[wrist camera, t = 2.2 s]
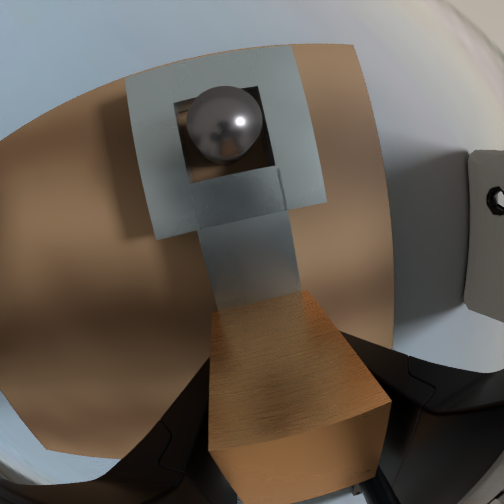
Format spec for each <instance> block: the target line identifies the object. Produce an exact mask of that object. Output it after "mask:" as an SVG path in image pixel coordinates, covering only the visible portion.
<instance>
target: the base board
mask: <svg viewBox="0 0 504 504" xmlns="http://www.w3.org/2000/svg"><path fill="white" fill-rule="evenodd" d="M289 45H291V47H292V50H293V54H294V57H295V60H296V64H297V67H298V71H299V75H300V78H301V82H302V86H303V90H304V93H305V97H306V101H307V105H308V110H309V114H310V118H311V122H312V127H313V131H314V136H315V140H316V145H317V150H318V155H319V160H320V165H321V170H322V176H323V181H324V187H325V193H326V199H327V202H326V203H321V204H316V205H311V206H306V207H301V208H296V209H291V210H288V214H289V220H290V225H291V231H292V236H293V242H294V248H295V254H296V260H297V266H298V272H299V278H300V285H301V291H304V290H308V291H309V293H310V294H311V295H312V296H313V298H314V299H315V300H316V301H317V303H318V304H319V305H320V307H321V308H322V309H323V311H324V312H325V313H326V314H327V316H328V317H329V318H330V320H331V321H332V322H333V323H334V325H335V326H336V327H337V329H338V330H340V331H342V332H345V333H347V334H350V335H353V336H356V337H358V338H361V339H364V340H366V341H369V342H372V343H375V344H377V345H380V346H383V347H386V348H389V349H392V346H393V328H394V260H393V242H392V228H391V217H390V208H389V199H388V191H387V184H386V177H385V170H384V164H383V158H382V153H381V147H380V142H379V137H378V132H377V128H376V123H375V119H374V114H373V110H372V106H371V102H370V98H369V95H368V91H367V87H366V84H365V80H364V77H363V74H362V70H361V67H360V64H359V61H358V58H357V55H356V52H355V49H354V46H353V45H347V44H289ZM289 45H274V46H289ZM274 46H263V47H274ZM263 47H253V48H263ZM253 48H245V49H253ZM245 49H238V50H245ZM238 50H231V51H238ZM231 51H225V52H231ZM225 52H219V53H225ZM219 53H213V54H219ZM213 54H208V55H213ZM208 55H203V56H208ZM203 56H198V57H203ZM198 57H194V58H198ZM194 58H189V59H194ZM189 59H185V60H189ZM185 60H181V61H185ZM181 61H177V62H181ZM177 62H173V63H177ZM173 63H169V64H173ZM169 64H165V65H162V66H166V65H169ZM162 66H158V67H155V68H159V67H162ZM155 68H151V69H148V70H152V69H155ZM148 70H145V71H148ZM145 71H142V72H145ZM142 72H139V73H142ZM139 73H136V74H139ZM136 74H133V75H136ZM133 75H130V76H133ZM130 76H127V77H130ZM127 77H124V78H121V79H119V80H116V81H113V82H111V83H108V84H106V85H103V86H101V87H98V88H96V89H94V90H91V91H89V92H87V93H84V94H82V95H80V96H78V97H76V98H74V99H72V100H69V101H67V102H65V103H63V104H61V105H59V106H58V107H56V108H54V109H52V110H50V111H48V112H46V113H44V114H43V115H41V116H39V117H37V118H36V119H34V120H32V121H31V122H29V123H27V124H26V125H24V126H22V127H21V128H19V129H18V130H16V131H15V132H13V133H12V134H10V135H9V136H7V137H6V138H4V139H3V140H1V141H0V390H1V391H2V393H3V394H4V396H5V397H6V399H7V400H8V402H9V403H10V404H11V406H12V407H13V409H14V410H15V411H16V413H17V414H18V416H19V417H20V418H21V420H22V421H23V422H24V423H25V425H26V426H27V427H28V428H29V430H30V431H31V432H32V433H33V435H34V436H35V437H36V438H37V439H38V440H39V442H40V443H41V444H42V445H43V446H44V447H45V448H46V450H51V451H57V452H62V453H68V454H75V455H82V456H90V457H100V458H112V459H122V458H123V457H125V456H126V455H127V454H128V453H129V452H130V451H131V450H132V449H133V448H134V447H135V446H136V445H137V444H138V443H139V442H140V441H141V440H142V439H143V438H144V437H145V436H146V435H147V434H148V432H149V431H150V430H151V429H152V428H153V427H154V425H155V424H156V423H157V422H158V421H159V420H160V418H161V417H162V416H163V414H164V413H165V412H166V411H167V410H168V408H169V407H170V406H171V405H172V403H173V402H174V401H175V400H176V398H177V397H178V396H179V395H180V393H181V392H182V391H183V389H184V388H185V387H186V386H187V384H188V383H189V382H190V381H191V379H192V378H193V377H194V375H195V374H196V373H197V372H198V370H199V369H200V368H201V367H202V365H203V364H204V363H205V361H206V360H207V359H208V358H209V357H210V350H211V327H212V312H215V311H218V308H217V305H216V301H215V298H214V294H213V290H212V287H211V283H210V279H209V276H208V272H207V268H206V264H205V260H204V257H203V253H202V249H201V245H200V241H199V237H198V233H197V230H196V231H192V232H188V233H184V234H180V235H176V236H172V237H168V238H164V239H160V240H156V237H155V233H154V229H153V225H152V222H151V218H150V214H149V210H148V205H147V201H146V197H145V193H144V188H143V184H142V179H141V174H140V169H139V165H138V160H137V154H136V149H135V144H134V138H133V132H132V126H131V120H130V114H129V107H128V100H127V92H126V84H125V78H127ZM253 98H254V97H253ZM187 113H188V110H185V111H182V112H179V116H180V121H181V126H182V131H183V136H184V141H185V146H186V151H187V156H188V161H189V165H190V170H191V175H192V179H193V183H196V182H200V181H204V180H208V179H213V178H217V177H221V176H226V175H230V174H235V173H240V172H245V171H250V170H255V169H260V168H265V167H269V165H268V160H267V155H266V151H265V146H264V141H263V137H262V132H261V131H260V134H259V136H258V138H257V139H256V141H255V142H254V143H253V144H252V146H251V147H250V148H249V149H248V151H247V152H246V153H245V154H244V156H243V157H242V158H241V159H239V160H238V161H236V162H234V163H232V164H227V165H218V164H214V163H212V162H210V161H208V160H207V159H206V158H205V157H204V156H203V155H202V154H201V152H200V151H199V150H198V148H197V147H196V145H195V144H194V142H193V141H192V139H191V138H190V136H189V133H188V130H187V125H186V118H187Z"/></svg>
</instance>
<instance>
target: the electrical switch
mask: <svg viewBox="0 0 504 504" xmlns="http://www.w3.org/2000/svg"><path fill="white" fill-rule="evenodd" d="M468 174H469V191H470V236H469V253H468V265H467V275H466V283H465V291H464V297H463V298H464V302H465V304H466V306H467V307H468V309H469V310H472V311H475V312H477V313H480V314H483V315H486V316H488V317H491V318H493V319H496V320H499V321H501V322H504V207H502V206H501V205H499V204H498V193H499V192H500V191H501V192H503V194H504V151H497V150H475V151H473V152H472V153H471V154H470V155H469V158H468Z"/></svg>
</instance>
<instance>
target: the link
mask: <svg viewBox="0 0 504 504" xmlns="http://www.w3.org/2000/svg"><path fill="white" fill-rule="evenodd" d="M125 84H126V92H127V100H128V107H129V114H130V120H131V126H132V132H133V138H134V144H135V149H136V154H137V160H138V165H139V169H140V174H141V179H142V184H143V188H144V193H145V197H146V201H147V205H148V210H149V214H150V218H151V222H152V225H153V229H154V233H155V237H156V240H160V239H164V238H168V237H172V236H176V235H180V234H184V233H188V232H192V231H196V230H197V233H198V237H199V241H200V245H201V249H202V253H203V257H204V260H205V264H206V268H207V272H208V276H209V279H210V283H211V287H212V290H213V294H214V298H215V301H216V305H217V308H218V311H215V312H212V327H211V350H210V380H209V453H210V454H211V456H212V458H213V459H214V461H215V462H216V464H217V466H218V467H219V469H220V470H221V472H222V473H223V475H224V476H225V478H226V479H227V481H228V482H229V484H230V485H231V487H232V488H233V490H234V491H235V492H236V494H237V495H238V497H239V498H240V499H241V501H242V502H243V503H244V504H291V503H296V502H300V501H304V500H308V499H312V498H315V497H319V496H322V495H326V494H329V493H332V492H335V491H338V490H341V489H344V488H347V487H350V486H353V485H355V484H358V483H360V482H363V481H366V480H368V479H371V478H373V477H375V474H376V470H377V467H378V463H379V459H380V456H381V452H382V448H383V443H384V439H385V434H386V430H387V425H388V420H389V414H390V409H391V403H392V401H391V399H390V398H389V397H388V395H387V394H386V392H385V391H384V390H383V388H382V387H381V386H380V384H379V383H378V382H377V380H376V379H375V378H374V376H373V375H372V374H371V372H370V371H369V370H368V368H367V367H366V366H365V364H364V363H363V362H362V360H361V359H360V358H359V356H358V355H357V354H356V352H355V351H354V350H353V348H352V347H351V346H350V344H349V343H348V342H347V340H346V339H345V338H344V337H343V335H342V334H341V333H340V331H339V330H338V329H337V327H336V326H335V325H334V323H333V322H332V321H331V320H330V318H329V317H328V316H327V314H326V313H325V312H324V311H323V309H322V308H321V307H320V305H319V304H318V303H317V301H316V300H315V299H314V298H313V296H312V295H311V294H310V293H309V291H308V290H304V291H301V285H300V278H299V272H298V266H297V260H296V254H295V248H294V242H293V236H292V231H291V225H290V220H289V214H288V210H291V209H296V208H301V207H306V206H311V205H316V204H321V203H326V202H327V199H326V193H325V187H324V181H323V176H322V170H321V165H320V160H319V155H318V150H317V145H316V140H315V136H314V131H313V127H312V122H311V118H310V114H309V110H308V105H307V101H306V97H305V93H304V90H303V86H302V82H301V78H300V75H299V71H298V67H297V64H296V60H295V57H294V54H293V50H292V47H291V45H289V46H274V47H263V48H253V49H245V50H238V51H231V52H225V53H219V54H213V55H208V56H203V57H198V58H194V59H189V60H185V61H181V62H177V63H173V64H169V65H166V66H162V67H159V68H155V69H152V70H148V71H145V72H142V73H139V74H136V75H133V76H130V77H127V78H125ZM217 86H233V87H237V88H240V89H242V90H244V91H246V92H247V93H249V94H250V95H251V96H252V97H254V99H255V100H256V102H257V103H258V105H259V107H260V109H261V113H262V128H261V132H262V137H263V141H264V146H265V151H266V155H267V160H268V165H269V167H265V168H260V169H255V170H250V171H245V172H240V173H235V174H230V175H226V176H221V177H217V178H213V179H208V180H204V181H200V182H196V183H193V179H192V175H191V170H190V165H189V161H188V156H187V151H186V146H185V141H184V136H183V131H182V126H181V121H180V116H179V112H182V111H185V110H189V108H190V106H191V104H192V102H193V101H194V100H195V99H196V98H197V97H198V96H199V95H200V94H201V93H203V92H204V91H206V90H208V89H211V88H213V87H217Z"/></svg>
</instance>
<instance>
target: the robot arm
mask: <svg viewBox="0 0 504 504" xmlns="http://www.w3.org/2000/svg"><path fill="white" fill-rule="evenodd" d="M339 331H340V330H339ZM340 333H341V334H342V335H343V337H344V338H345V339H346V340H347V342H348V343H349V344H350V346H351V347H352V348H353V350H354V351H355V352H356V354H357V355H358V356H359V358H360V359H361V360H362V362H363V363H364V364H365V366H366V367H367V368H368V370H369V371H370V372H371V374H372V375H373V376H374V378H375V379H376V380H377V382H378V383H379V384H380V386H381V387H382V388H383V390H384V391H385V392H386V394H387V395H388V397H389V398H390V399H391V401H392V403H391V409H390V414H389V420H388V425H387V430H386V434H385V439H384V443H383V448H382V452H381V456H380V459H379V463H378V467H377V470H376V474H375V477H373V478H371V479H368V480H366V481H363V482H360V483H358V484H355V485H353V489H352V494H353V495H354V496H355V495H358V494H361V493H363V495H364V497H365V499H366V502H367V504H504V369H502V370H500V371H497V372H493V373H478V372H473V371H468V370H462V369H457V368H452V367H448V366H443V365H439V364H435V363H431V362H428V361H424V360H421V359H418V358H415V357H412V356H408V355H406V354H403V353H400V352H397V351H394V350H392V349H389V348H386V347H383V346H380V345H377V344H375V343H372V342H369V341H366V340H364V339H361V338H358V337H356V336H353V335H350V334H347V333H345V332H342V331H340ZM209 380H210V357H209V358H208V359H207V360H206V361H205V363H204V364H203V365H202V367H201V368H200V369H199V370H198V372H197V373H196V374H195V375H194V377H193V378H192V379H191V381H190V382H189V383H188V384H187V386H186V387H185V388H184V389H183V391H182V392H181V393H180V395H179V396H178V397H177V398H176V400H175V401H174V402H173V403H172V405H171V406H170V407H169V408H168V410H167V411H166V412H165V413H164V414H163V416H162V417H161V418H160V420H159V421H158V422H157V423H156V424H155V425H154V427H153V428H152V429H151V430H150V431H149V432H148V434H147V435H146V436H145V437H144V438H143V439H142V440H141V441H140V442H139V443H138V444H137V445H136V446H135V447H134V448H133V449H132V450H131V451H130V452H129V453H128V454H127V455H126V456H125V457H123V458H122V459H121V460H120V461H119V462H118V463H117V464H116V465H115V466H114V467H113V468H111V469H110V470H109V471H108V472H107V473H106V474H104V475H103V476H101V477H99V478H97V479H95V480H91V481H87V482H79V483H69V484H57V485H21V484H16V483H13V482H10V481H8V480H6V479H3V478H0V504H237V494H236V492H235V491H234V490H233V488H232V487H231V485H230V484H229V482H228V481H227V479H226V478H225V476H224V475H223V473H222V472H221V470H220V469H219V467H218V466H217V464H216V462H215V461H214V459H213V458H212V456H211V454H210V453H209Z"/></svg>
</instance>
